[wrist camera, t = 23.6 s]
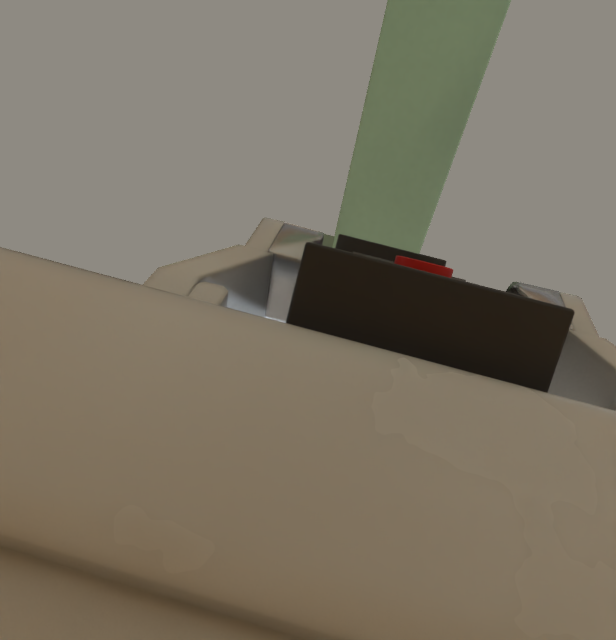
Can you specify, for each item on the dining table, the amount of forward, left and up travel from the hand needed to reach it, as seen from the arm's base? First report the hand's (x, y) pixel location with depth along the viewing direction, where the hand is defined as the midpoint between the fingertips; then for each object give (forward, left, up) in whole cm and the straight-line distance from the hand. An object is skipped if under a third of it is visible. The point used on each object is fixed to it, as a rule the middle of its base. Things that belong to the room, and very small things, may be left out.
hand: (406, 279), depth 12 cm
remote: (+2, -3, +5) cm, 6 cm away
